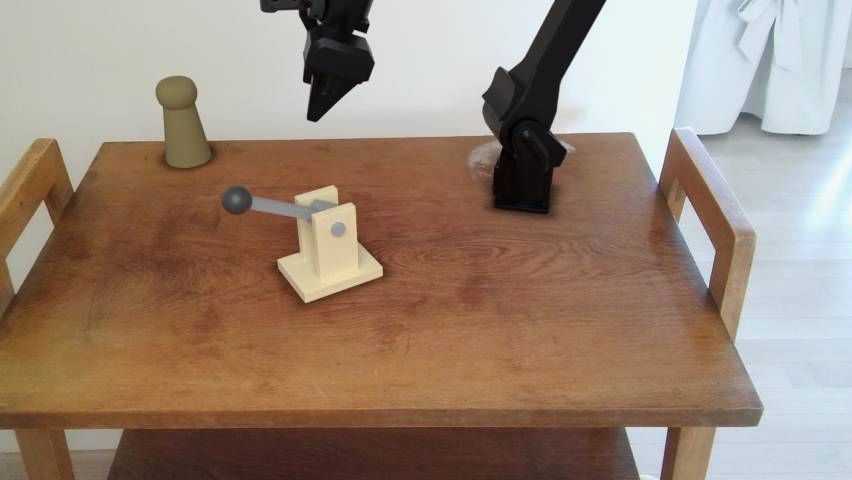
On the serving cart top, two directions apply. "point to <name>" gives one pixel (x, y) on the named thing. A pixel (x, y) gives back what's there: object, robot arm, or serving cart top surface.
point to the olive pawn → (182, 123)
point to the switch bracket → (328, 250)
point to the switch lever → (268, 204)
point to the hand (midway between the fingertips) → (309, 101)
